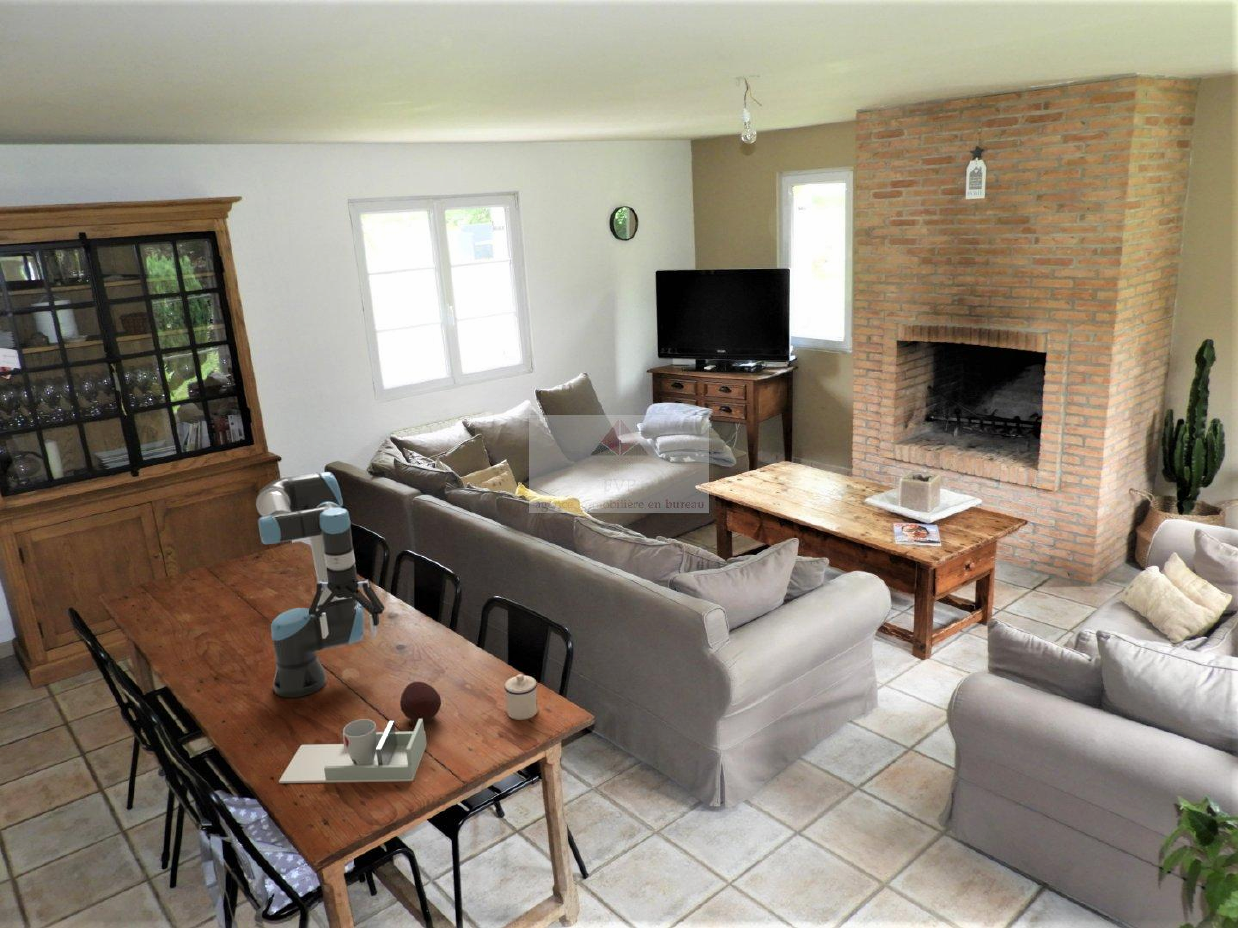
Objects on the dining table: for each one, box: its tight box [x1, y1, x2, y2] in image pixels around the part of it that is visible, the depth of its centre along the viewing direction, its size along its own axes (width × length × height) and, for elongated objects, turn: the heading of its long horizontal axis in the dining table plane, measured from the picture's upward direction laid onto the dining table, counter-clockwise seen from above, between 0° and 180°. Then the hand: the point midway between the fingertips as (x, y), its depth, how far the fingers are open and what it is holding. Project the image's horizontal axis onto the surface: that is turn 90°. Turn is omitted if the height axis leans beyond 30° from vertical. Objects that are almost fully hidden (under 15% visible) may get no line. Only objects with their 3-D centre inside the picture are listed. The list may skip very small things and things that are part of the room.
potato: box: [399, 681, 442, 724], centre depth 252 cm, size 11×13×10 cm
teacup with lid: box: [503, 673, 539, 721], centre depth 254 cm, size 12×9×12 cm
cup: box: [342, 718, 377, 766], centre depth 232 cm, size 8×8×10 cm
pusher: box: [376, 720, 397, 765], centre depth 233 cm, size 1×13×8 cm, turn 178°
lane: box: [278, 719, 428, 784], centre depth 233 cm, size 34×16×9 cm, turn 89°
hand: (350, 636), depth 247 cm, fingers open, 13 cm apart
